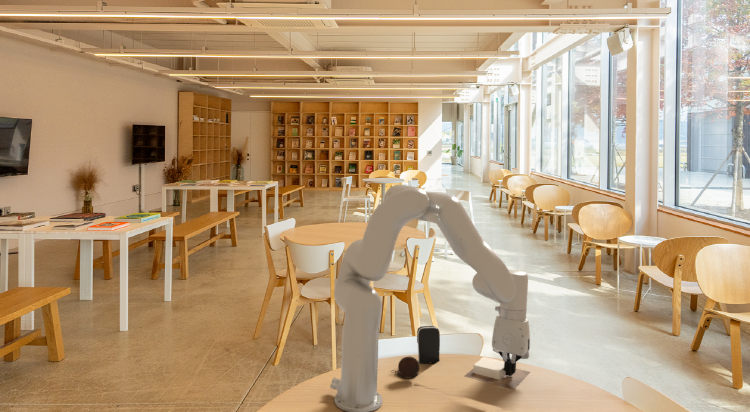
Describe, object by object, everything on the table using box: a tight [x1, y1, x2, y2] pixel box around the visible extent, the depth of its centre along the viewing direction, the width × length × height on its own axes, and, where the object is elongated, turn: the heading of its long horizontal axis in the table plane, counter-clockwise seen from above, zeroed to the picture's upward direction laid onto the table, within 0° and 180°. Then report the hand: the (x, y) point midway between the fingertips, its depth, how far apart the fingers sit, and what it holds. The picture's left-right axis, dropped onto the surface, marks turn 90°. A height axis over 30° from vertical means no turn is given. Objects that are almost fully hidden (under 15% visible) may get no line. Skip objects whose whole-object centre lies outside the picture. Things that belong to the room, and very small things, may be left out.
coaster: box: [472, 356, 505, 380], centre depth 163 cm, size 8×8×2 cm
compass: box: [390, 355, 420, 379], centre depth 161 cm, size 8×8×7 cm
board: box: [464, 368, 531, 390], centre depth 161 cm, size 15×15×2 cm
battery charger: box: [416, 325, 441, 365], centre depth 172 cm, size 7×4×11 cm, turn 98°
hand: (509, 374), depth 159 cm, fingers closed
